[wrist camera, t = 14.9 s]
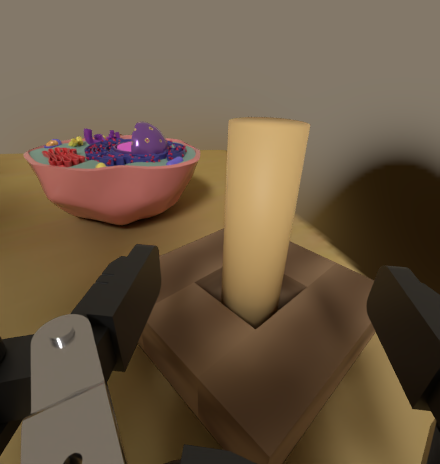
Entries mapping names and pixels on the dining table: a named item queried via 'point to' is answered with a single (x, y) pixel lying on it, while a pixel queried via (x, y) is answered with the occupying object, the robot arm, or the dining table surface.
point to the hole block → (256, 346)
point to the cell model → (115, 173)
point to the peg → (259, 211)
